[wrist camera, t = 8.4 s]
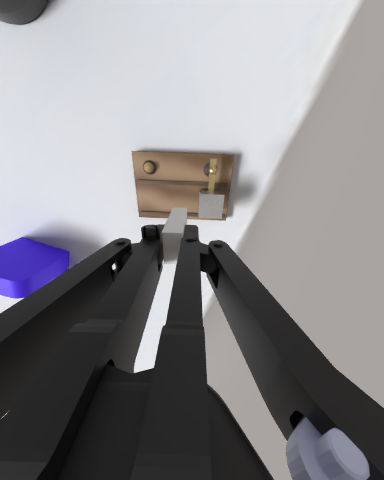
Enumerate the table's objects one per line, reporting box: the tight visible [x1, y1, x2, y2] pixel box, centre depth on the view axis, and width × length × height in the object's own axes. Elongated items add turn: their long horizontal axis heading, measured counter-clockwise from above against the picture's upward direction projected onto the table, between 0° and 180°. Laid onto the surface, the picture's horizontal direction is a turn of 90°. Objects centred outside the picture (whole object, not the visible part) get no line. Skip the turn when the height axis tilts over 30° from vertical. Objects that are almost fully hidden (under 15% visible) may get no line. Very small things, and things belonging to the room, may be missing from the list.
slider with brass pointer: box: [198, 159, 224, 219], centre depth 27 cm, size 9×4×5 cm, turn 178°
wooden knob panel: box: [132, 151, 234, 221], centre depth 30 cm, size 12×18×3 cm, turn 88°
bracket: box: [0, 237, 69, 298], centre depth 37 cm, size 18×11×12 cm, turn 160°
